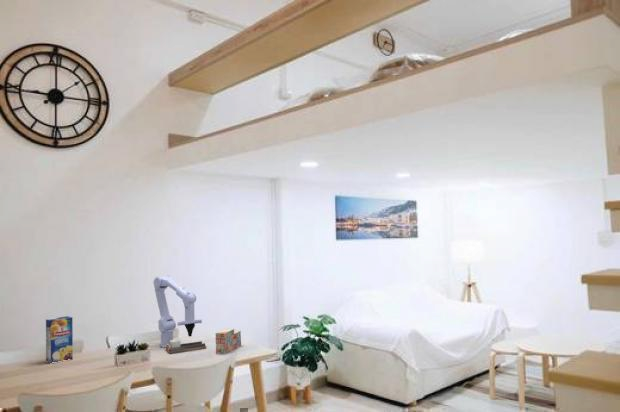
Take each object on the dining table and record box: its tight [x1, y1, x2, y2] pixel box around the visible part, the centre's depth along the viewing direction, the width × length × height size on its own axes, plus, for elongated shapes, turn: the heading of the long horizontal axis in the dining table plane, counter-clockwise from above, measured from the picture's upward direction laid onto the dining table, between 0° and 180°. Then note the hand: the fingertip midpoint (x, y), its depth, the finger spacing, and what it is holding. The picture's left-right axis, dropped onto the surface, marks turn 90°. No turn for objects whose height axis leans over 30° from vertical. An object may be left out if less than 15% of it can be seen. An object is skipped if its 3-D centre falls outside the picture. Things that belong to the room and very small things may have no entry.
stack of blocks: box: [215, 328, 242, 355], centre depth 295 cm, size 21×6×12 cm, turn 163°
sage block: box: [170, 339, 181, 348], centre depth 294 cm, size 5×5×5 cm
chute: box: [164, 340, 207, 355], centre depth 297 cm, size 12×22×4 cm, turn 120°
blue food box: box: [45, 315, 74, 364], centre depth 280 cm, size 12×8×24 cm, turn 138°
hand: (189, 336), depth 299 cm, fingers closed
